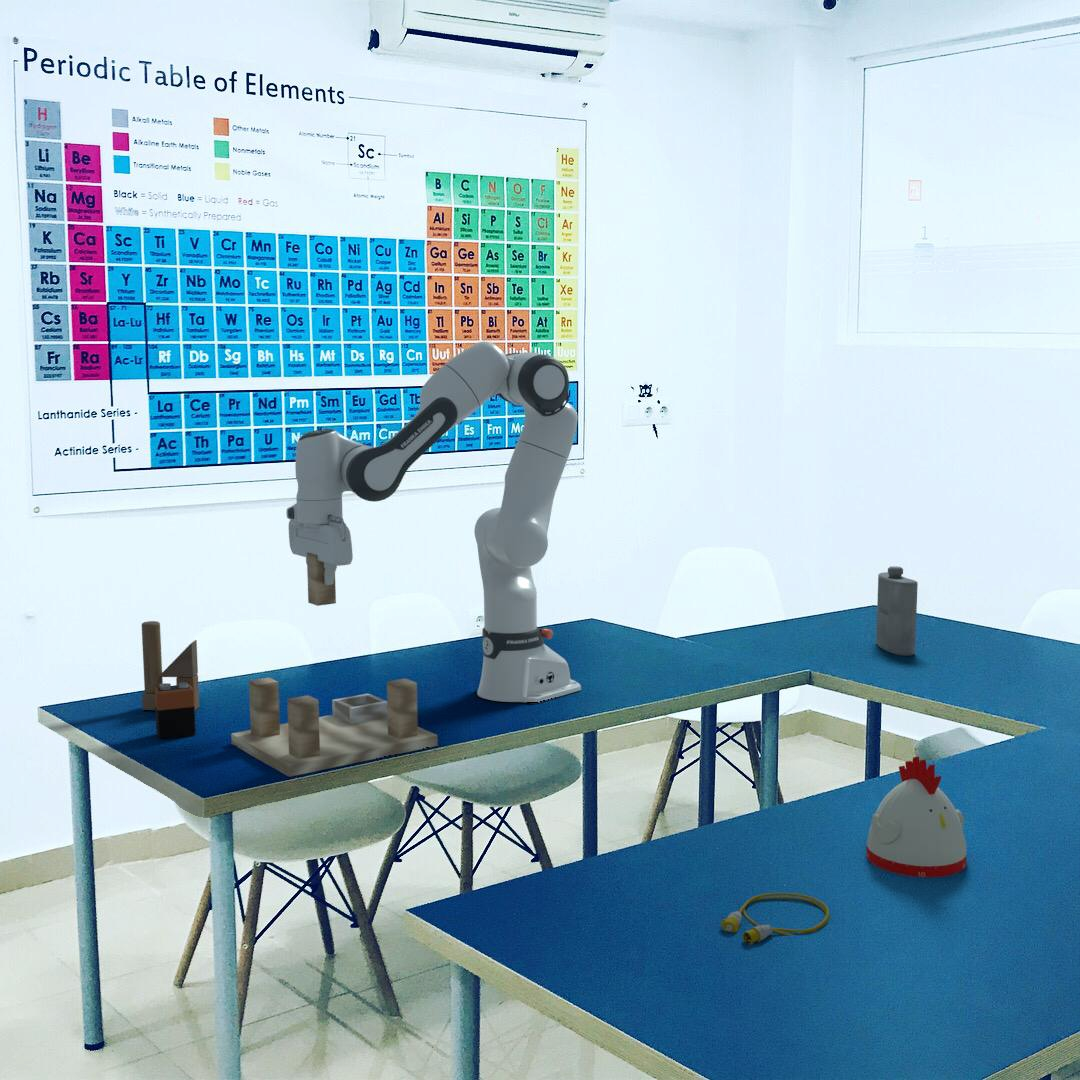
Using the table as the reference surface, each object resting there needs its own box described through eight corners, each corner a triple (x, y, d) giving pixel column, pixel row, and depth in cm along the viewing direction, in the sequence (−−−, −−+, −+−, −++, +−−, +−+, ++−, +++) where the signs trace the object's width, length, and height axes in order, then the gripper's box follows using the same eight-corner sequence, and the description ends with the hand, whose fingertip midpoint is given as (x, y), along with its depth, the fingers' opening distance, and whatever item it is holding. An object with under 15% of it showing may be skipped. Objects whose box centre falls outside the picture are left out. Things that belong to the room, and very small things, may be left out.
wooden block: (194, 712, 274) (190, 624, 271) (142, 711, 274) (137, 624, 271) (199, 707, 277) (196, 621, 275) (148, 706, 278) (144, 620, 275)
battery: (156, 733, 258) (153, 682, 257) (192, 729, 261) (190, 679, 260) (159, 740, 254) (157, 688, 253) (196, 735, 257) (194, 684, 256)
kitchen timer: (907, 884, 186) (911, 778, 184) (846, 849, 199) (849, 751, 196) (987, 868, 192) (991, 765, 189) (923, 835, 204) (927, 739, 202)
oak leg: (326, 600, 270) (325, 550, 269) (335, 603, 267) (334, 553, 265) (308, 602, 268) (306, 552, 266) (317, 605, 265) (316, 555, 263)
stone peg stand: (373, 717, 269) (372, 658, 267) (437, 745, 250) (436, 682, 248) (231, 743, 252) (229, 680, 250) (288, 776, 233) (286, 708, 231)
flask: (869, 642, 334) (872, 562, 331) (892, 641, 335) (894, 561, 332) (895, 656, 319) (898, 572, 316) (918, 655, 320) (921, 572, 317)
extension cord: (697, 911, 178) (697, 897, 178) (803, 895, 183) (803, 881, 183) (740, 950, 167) (740, 935, 167) (851, 932, 172) (852, 917, 172)
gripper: (359, 516, 258) (361, 588, 260) (310, 506, 275) (312, 573, 277) (330, 519, 255) (332, 591, 257) (282, 509, 271) (284, 577, 273)
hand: (321, 582), depth 267 cm, fingers closed on oak leg, 4 cm apart
